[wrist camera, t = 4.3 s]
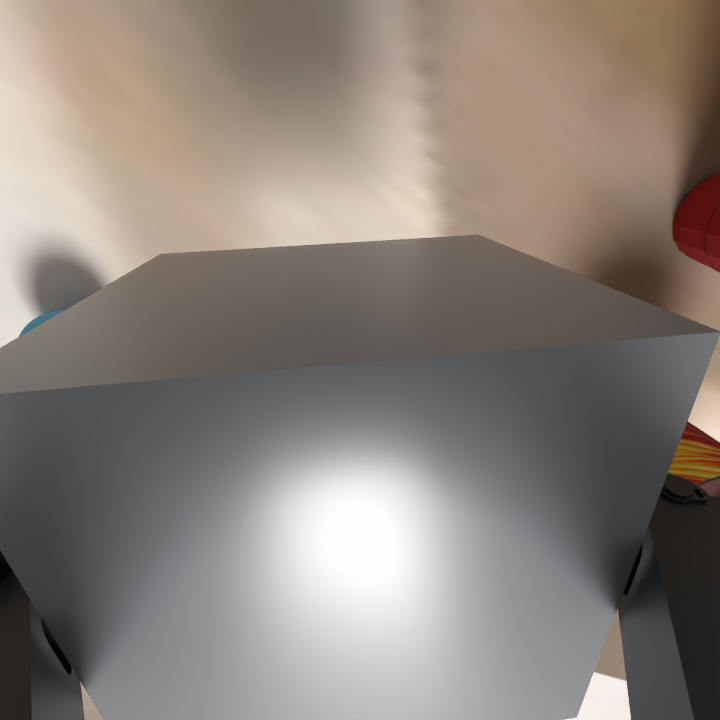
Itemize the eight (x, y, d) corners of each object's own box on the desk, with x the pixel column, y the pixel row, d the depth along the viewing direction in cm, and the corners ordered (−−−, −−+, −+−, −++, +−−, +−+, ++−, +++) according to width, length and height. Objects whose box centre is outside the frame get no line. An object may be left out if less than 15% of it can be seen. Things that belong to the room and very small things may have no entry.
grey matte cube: (160, 253, 13) (-92, 401, 5) (478, 234, 13) (720, 332, 6) (222, 500, 17) (146, 789, 9) (458, 473, 18) (576, 717, 10)
